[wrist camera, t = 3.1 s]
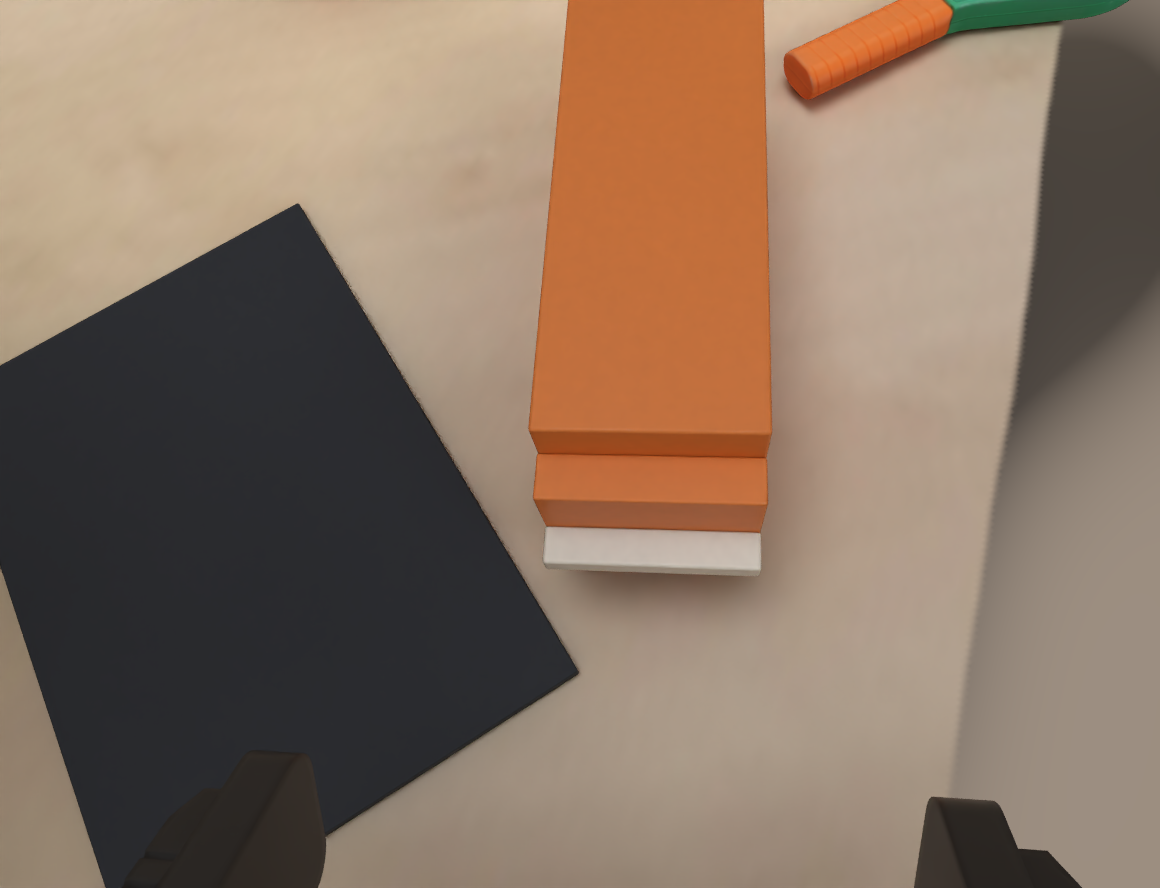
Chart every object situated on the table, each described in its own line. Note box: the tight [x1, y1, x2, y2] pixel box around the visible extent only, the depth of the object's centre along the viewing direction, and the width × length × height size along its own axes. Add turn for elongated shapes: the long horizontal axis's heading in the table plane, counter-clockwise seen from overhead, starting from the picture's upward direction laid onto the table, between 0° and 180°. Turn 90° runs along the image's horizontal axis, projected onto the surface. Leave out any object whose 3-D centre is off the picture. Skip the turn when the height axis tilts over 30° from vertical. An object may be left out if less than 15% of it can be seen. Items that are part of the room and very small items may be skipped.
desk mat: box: [0, 203, 579, 888], centre depth 28 cm, size 20×14×1 cm
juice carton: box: [528, 0, 772, 576], centre depth 26 cm, size 17×6×8 cm, turn 177°
